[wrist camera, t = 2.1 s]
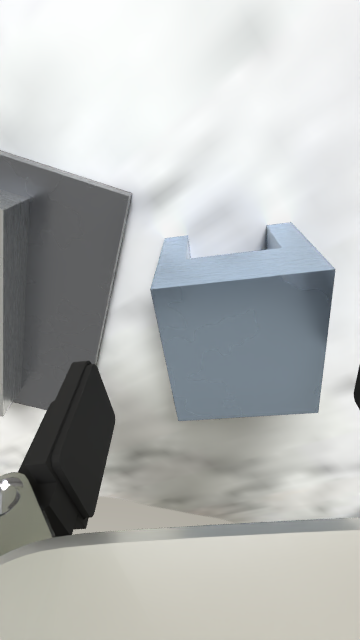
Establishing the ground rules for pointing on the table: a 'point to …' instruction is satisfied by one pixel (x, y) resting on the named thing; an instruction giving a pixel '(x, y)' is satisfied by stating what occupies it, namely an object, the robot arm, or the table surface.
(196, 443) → the table surface
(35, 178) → the rail
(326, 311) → the blue-grey slotted block
